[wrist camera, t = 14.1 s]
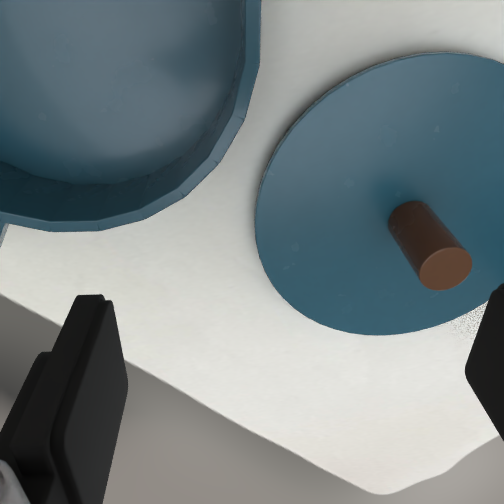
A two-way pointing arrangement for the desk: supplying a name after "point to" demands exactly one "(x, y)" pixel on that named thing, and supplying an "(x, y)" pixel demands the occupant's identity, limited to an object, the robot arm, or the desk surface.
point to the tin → (117, 105)
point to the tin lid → (390, 197)
